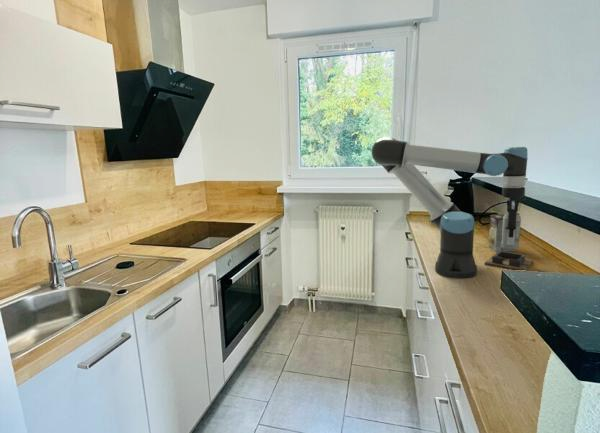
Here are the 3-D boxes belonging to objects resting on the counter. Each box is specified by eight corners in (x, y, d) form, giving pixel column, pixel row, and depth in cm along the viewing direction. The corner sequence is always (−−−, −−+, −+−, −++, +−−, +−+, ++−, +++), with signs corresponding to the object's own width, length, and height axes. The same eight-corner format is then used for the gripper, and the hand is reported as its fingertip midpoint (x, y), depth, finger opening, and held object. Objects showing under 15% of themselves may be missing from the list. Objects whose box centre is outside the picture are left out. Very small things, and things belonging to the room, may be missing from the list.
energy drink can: (507, 246, 134) (510, 211, 131) (522, 249, 128) (524, 213, 125) (497, 248, 132) (499, 213, 129) (511, 252, 126) (514, 215, 123)
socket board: (524, 272, 121) (525, 263, 121) (484, 264, 131) (484, 256, 131) (532, 262, 131) (533, 254, 130) (494, 256, 141) (495, 248, 140)
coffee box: (487, 246, 155) (489, 214, 152) (502, 246, 154) (504, 214, 151) (495, 251, 146) (497, 218, 143) (510, 251, 145) (512, 218, 142)
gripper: (526, 189, 115) (522, 249, 119) (523, 183, 131) (520, 237, 135) (502, 189, 119) (499, 247, 123) (502, 184, 135) (499, 236, 139)
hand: (510, 242), depth 129 cm, fingers closed on energy drink can, 6 cm apart
